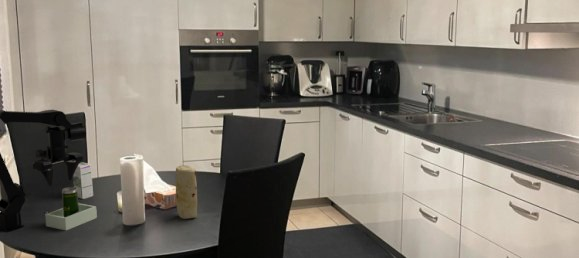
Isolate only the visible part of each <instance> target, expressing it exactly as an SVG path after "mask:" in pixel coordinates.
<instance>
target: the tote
mask: <svg viewBox="0 0 579 258" xmlns="http://www.w3.org/2000/svg"><path fill="white" fill-rule="evenodd" d="M78 206H79V212H78V213H76V214H73V215H71V216H68V217H64V215H63V207H62V208H60V209H59V208H58V209H57V210H53V211H51V212H48V213H45V214H44V215H45V226H46V227H49V228H53V229H58V230H61V231H62V230H63V231H68V230H71V229H73V228H76V227H77V226H80V225H84V224H85V223H88V222H90V221H92V220H95V219H97V218H98V215H97V213H98V212H97V206H95V205H89V204H85V203H81V202H78Z"/></svg>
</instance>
